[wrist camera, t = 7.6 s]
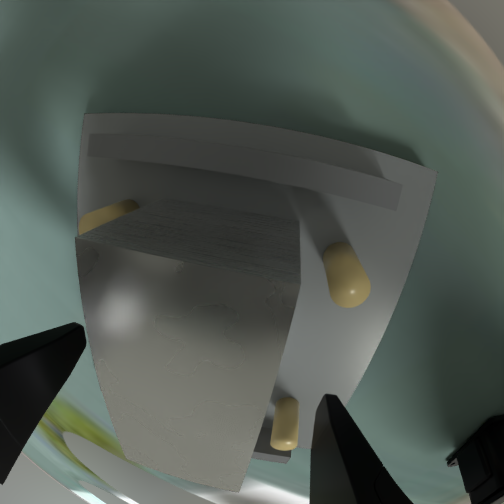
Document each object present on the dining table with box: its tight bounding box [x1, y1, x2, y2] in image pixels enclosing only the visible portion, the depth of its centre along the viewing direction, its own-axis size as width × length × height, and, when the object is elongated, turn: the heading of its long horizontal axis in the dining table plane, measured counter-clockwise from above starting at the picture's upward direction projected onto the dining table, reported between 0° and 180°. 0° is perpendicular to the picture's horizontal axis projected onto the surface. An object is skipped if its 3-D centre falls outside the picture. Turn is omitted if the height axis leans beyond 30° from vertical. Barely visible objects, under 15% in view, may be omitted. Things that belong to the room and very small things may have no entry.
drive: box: [75, 199, 301, 492], centre depth 10 cm, size 5×10×5 cm, turn 172°
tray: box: [77, 113, 438, 464], centre depth 11 cm, size 14×16×4 cm
